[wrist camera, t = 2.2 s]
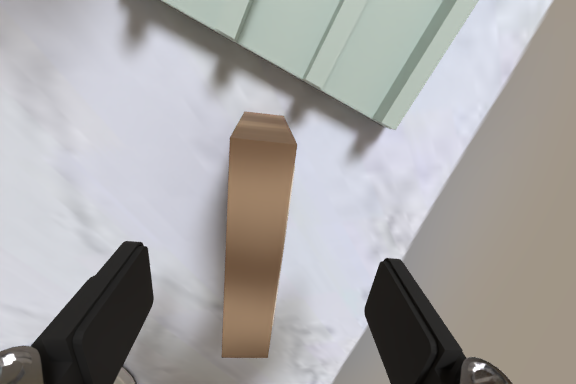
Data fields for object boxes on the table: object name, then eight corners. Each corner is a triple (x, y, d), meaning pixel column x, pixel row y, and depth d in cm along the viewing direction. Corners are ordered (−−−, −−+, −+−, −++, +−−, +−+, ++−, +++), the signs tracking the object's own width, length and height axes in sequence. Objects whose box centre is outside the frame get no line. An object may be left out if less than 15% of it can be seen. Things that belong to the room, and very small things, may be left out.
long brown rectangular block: (269, 264, 22) (271, 357, 15) (236, 262, 22) (221, 357, 14) (286, 116, 17) (302, 145, 10) (244, 111, 17) (229, 137, 10)
